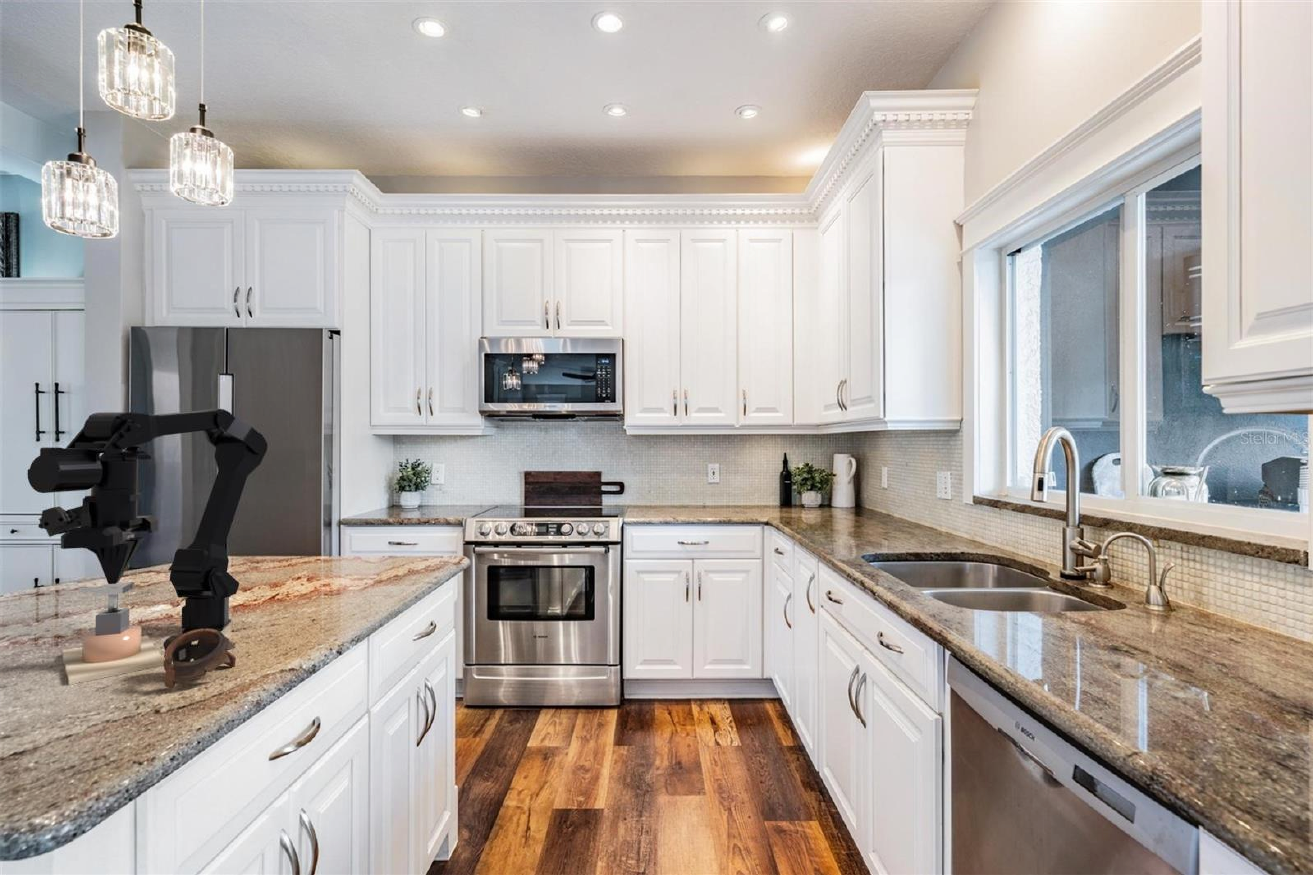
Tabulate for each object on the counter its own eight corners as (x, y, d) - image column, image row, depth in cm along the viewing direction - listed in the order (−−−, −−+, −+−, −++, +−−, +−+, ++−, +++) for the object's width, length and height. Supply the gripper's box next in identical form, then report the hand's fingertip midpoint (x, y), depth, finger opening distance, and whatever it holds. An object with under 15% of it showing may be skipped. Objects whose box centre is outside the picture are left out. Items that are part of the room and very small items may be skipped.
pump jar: (148, 645, 104) (149, 604, 104) (130, 659, 97) (130, 615, 97) (94, 651, 101) (95, 608, 101) (72, 665, 94) (73, 620, 94)
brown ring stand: (256, 669, 97) (246, 632, 93) (201, 718, 89) (188, 680, 85) (195, 645, 99) (183, 608, 95) (136, 690, 91) (121, 652, 87)
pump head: (132, 607, 102) (132, 582, 102) (122, 613, 98) (122, 587, 98) (85, 611, 99) (85, 585, 99) (73, 617, 96) (73, 590, 96)
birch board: (61, 655, 101) (61, 650, 101) (147, 640, 109) (147, 635, 109) (69, 684, 89) (69, 679, 89) (164, 665, 97) (164, 660, 97)
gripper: (80, 485, 105) (79, 575, 105) (15, 494, 88) (13, 602, 88) (159, 484, 109) (158, 571, 109) (111, 492, 92) (110, 595, 92)
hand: (113, 583), depth 99 cm, fingers closed
